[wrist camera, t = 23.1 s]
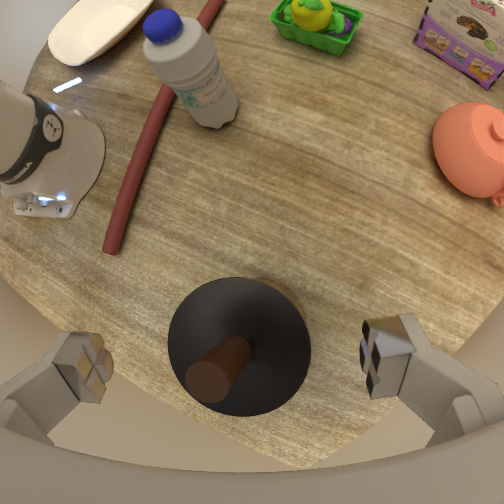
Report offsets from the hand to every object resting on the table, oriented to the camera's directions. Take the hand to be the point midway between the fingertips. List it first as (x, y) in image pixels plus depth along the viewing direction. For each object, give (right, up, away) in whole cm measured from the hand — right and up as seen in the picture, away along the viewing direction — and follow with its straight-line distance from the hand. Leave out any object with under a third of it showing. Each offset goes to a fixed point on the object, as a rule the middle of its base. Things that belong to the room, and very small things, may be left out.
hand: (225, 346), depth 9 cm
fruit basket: (+10, +34, +29) cm, 46 cm away
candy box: (+32, +33, +26) cm, 52 cm away
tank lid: (-1, -6, +17) cm, 18 cm away
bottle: (-4, +21, +31) cm, 38 cm away
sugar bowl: (+29, +15, +25) cm, 41 cm away
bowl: (-26, +45, +36) cm, 64 cm away
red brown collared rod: (-11, +24, +33) cm, 42 cm away
